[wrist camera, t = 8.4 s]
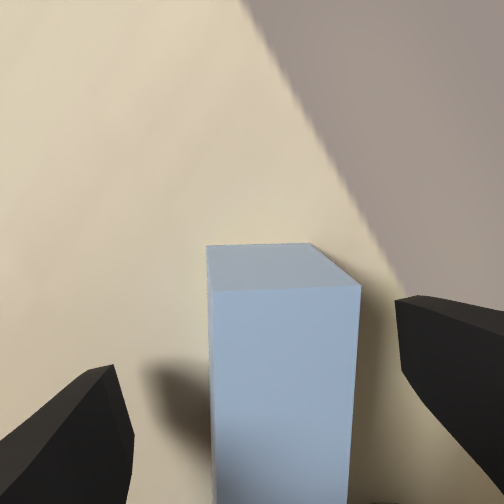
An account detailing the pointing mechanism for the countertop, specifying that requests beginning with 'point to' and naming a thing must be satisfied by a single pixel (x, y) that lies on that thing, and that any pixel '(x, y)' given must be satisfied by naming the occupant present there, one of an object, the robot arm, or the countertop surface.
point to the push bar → (280, 374)
